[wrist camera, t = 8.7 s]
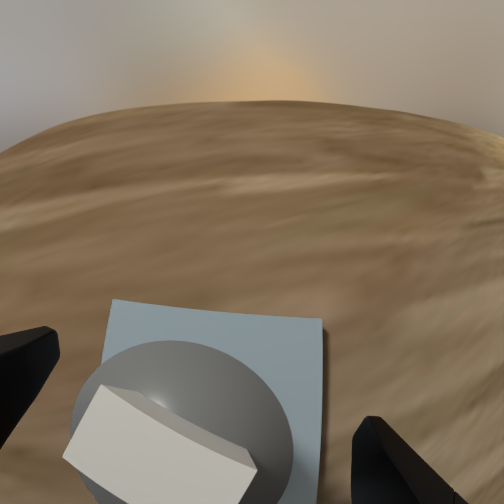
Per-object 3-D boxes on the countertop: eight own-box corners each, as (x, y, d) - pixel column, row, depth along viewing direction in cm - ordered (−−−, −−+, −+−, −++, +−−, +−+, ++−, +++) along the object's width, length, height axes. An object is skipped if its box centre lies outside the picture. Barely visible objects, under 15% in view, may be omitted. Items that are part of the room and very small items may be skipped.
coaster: (310, 515, 12) (314, 520, 11) (97, 494, 11) (92, 497, 10) (318, 322, 18) (322, 318, 17) (117, 303, 17) (113, 298, 16)
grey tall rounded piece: (226, 476, 12) (236, 620, 2) (146, 435, 13) (-13, 474, 2) (266, 403, 14) (373, 394, 4) (186, 363, 15) (101, 259, 4)
